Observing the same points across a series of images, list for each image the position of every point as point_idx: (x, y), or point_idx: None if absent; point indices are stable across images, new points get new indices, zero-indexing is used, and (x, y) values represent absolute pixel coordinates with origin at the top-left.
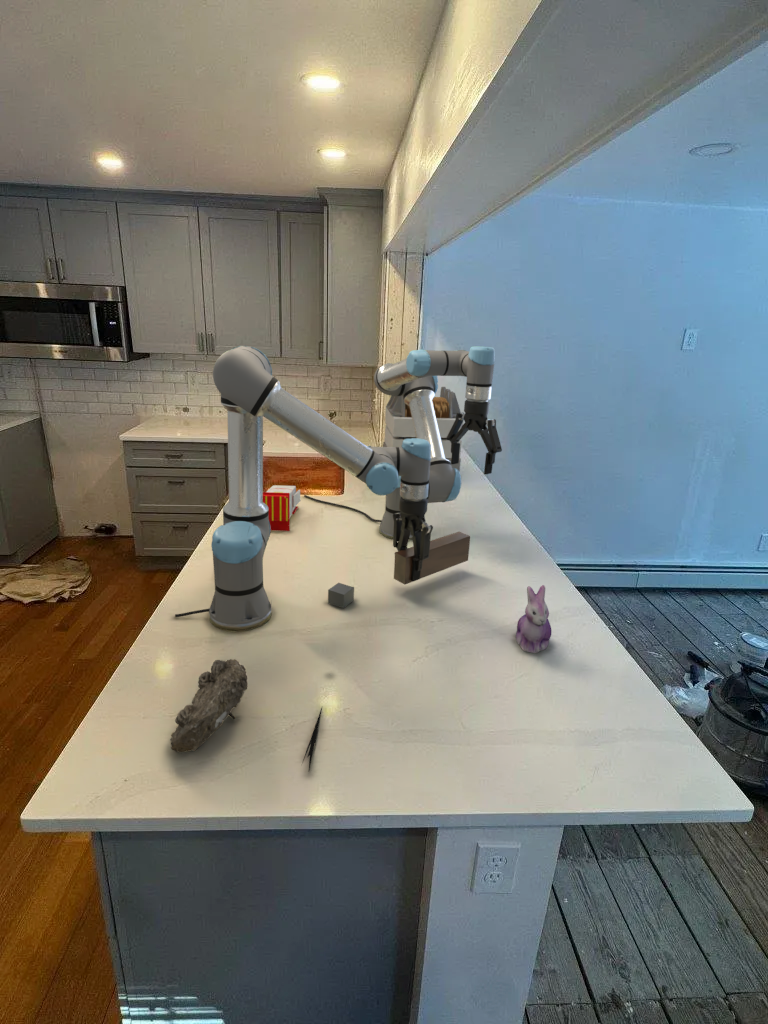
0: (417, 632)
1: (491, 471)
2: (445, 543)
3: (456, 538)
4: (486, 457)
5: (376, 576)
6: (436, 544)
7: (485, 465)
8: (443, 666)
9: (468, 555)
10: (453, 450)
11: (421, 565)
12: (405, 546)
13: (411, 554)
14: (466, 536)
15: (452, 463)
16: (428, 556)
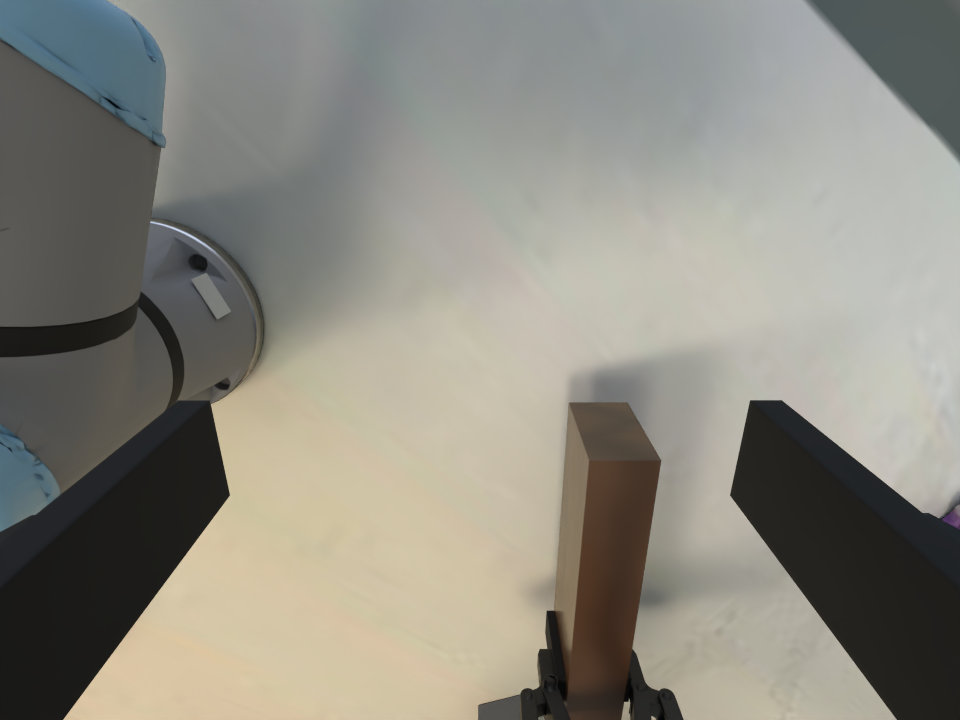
0: (721, 676)
1: (794, 417)
2: (634, 584)
3: (634, 522)
4: (891, 688)
5: (448, 595)
6: (615, 612)
7: (799, 572)
8: (835, 708)
9: (633, 413)
10: (103, 652)
11: (639, 667)
12: (559, 700)
13: (612, 711)
14: (652, 477)
15: (220, 502)
16: (675, 700)
